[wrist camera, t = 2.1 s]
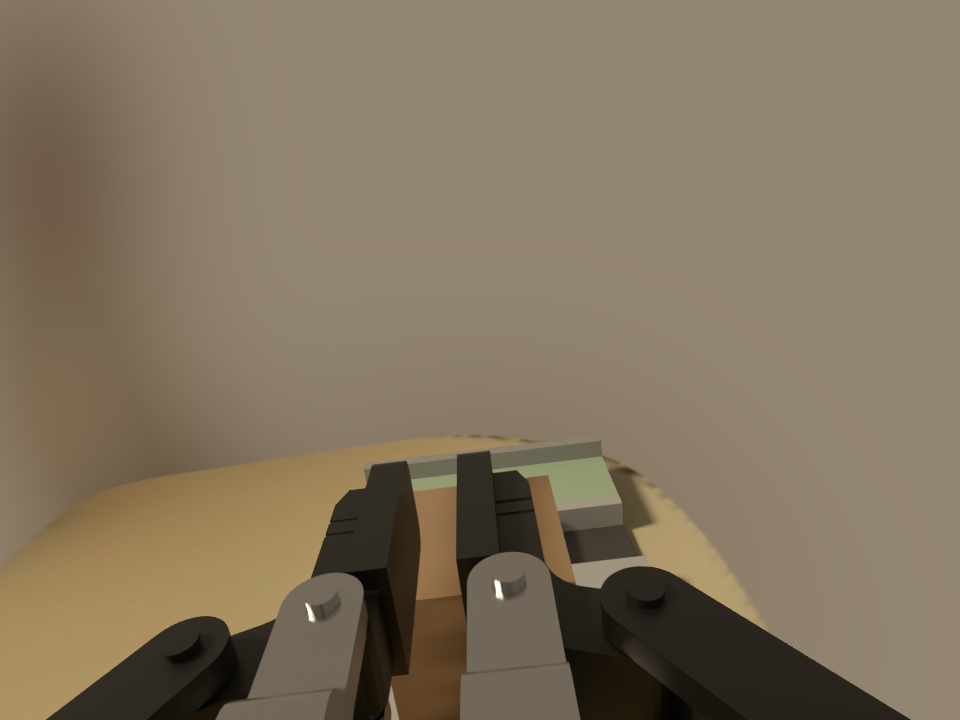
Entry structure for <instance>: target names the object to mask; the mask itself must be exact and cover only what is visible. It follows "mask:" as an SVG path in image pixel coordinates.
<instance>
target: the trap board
mask: <svg viewBox="0 0 960 720" xmlns="http://www.w3.org/2000/svg"><path fill="white" fill-rule="evenodd" d="M489 450H490V455H491V462H492V470H493V473H497V472H505V471H513V470H517V471H518V472H519V473H520V474H521V475H522V476H523V477H524V478H528V477H536V476H545V475H548V477H549V481H550V484H551V488H552V492H553V496H554V500H555V504H556V508H557V511H558V515H559V519H560V523H561V527H562V531H563V535H564V539H565V542H566V546H567V550H568V554H569V558H570V562H571V566H572V569H573V573H574V577H575V581H576V585H579V586H585V587H592V588H600V589H601V587H602V585H603V583H604V581H605V580H606V579H607V578H608V577H609V576H610V575H612V574H613V573H615V572H617V571H619V570H621V569H624V568H629V567H635V566H648V567H650V565H649V563H648V560H647V558H646V556H636V554H635V551H634V549H633V547H632V544H631V542H630V539H629V537H628V535H627V532H626V530H625V528H624V525H623V507H622V501H621V499H620V497H619V494H618V492H617V490H616V488H615V485H614V483H613V481H612V479H611V476H610V474H609V472H608V469H607V467H606V465H605V463H604V460H603V458H602V452H601V440H600V438H599V436H598V435H596V436H589V437H580V438H571V439H563V440H555V441H546V442H538V443H530V444H522V445H513V446H505V447H497V448H489V449H480V450H472V451H464V452H456V453H447V454H439V455H431V456H423V457H414V458H406V459H398V460H390V461H381V462H373V463H366V464H365V468H364V472H365V477H366V481H368V477H369V474H370V470H371V467H372V465H374V464H382V463H390V462H398V461H407V463H408V467H409V471H410V476H411V482H412V487H413V491H420V490H429V489H437V488H445V487H453V486H457V454H464V453H473V452H481V451H489ZM389 703H390V707H391V720H399V717H398V713H397V708H396V704H395V699H394V695H393V691H392V686H391V688H390V695H389Z"/></svg>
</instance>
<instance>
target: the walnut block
mask: <svg viewBox="0 0 960 720" xmlns="http://www.w3.org/2000/svg"><path fill="white" fill-rule="evenodd" d="M525 479H527V480H528V481H529V484H530V489H531V494H532V500H533V504H534V510H535V514H536V519H537V525H538V530H539V535H540V540H541V545H542V550H543V555H544V559H545V562H546V564H547V566H548V568H549V569H550V570H551V571H552V572H553V573H554V574H555V575H556V576H557V577H559V578H561V579H562V580H564V581H567V582H569V583H572V584H575V585H576V581H575V577H574V573H573V569H572V566H571V562H570V558H569V554H568V550H567V546H566V542H565V539H564V535H563V531H562V527H561V523H560V519H559V515H558V511H557V508H556V504H555V500H554V496H553V492H552V488H551V484H550V481H549V477H548V475H545V476H536V477H528V478H525ZM413 493H414V498H415V504H416V509H417V515H418V520H419V527H420V538H421V552H420V563H419V573H418V584H417V594H416V605H415V616H414V626H413V637H412V647H411V658H410V668H409V675H400V676H392V680H391V686H392V691H393V695H394V699H395V704H396V708H397V713H398V717H399V720H460V688H461V675H462V673H464V672H467V625H466V619H465V612H464V606H463V600H462V594H461V588H460V582H459V575H458V569H457V563H456V497H457V486H453V487H445V488H437V489H429V490H420V491H413Z"/></svg>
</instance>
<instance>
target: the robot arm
mask: <svg viewBox="0 0 960 720" xmlns="http://www.w3.org/2000/svg"><path fill="white" fill-rule="evenodd" d="M420 552H421V538H420V527H419V520H418V515H417V509H416V504H415V498H414V493H413V487H412V482H411V476H410V471H409V467H408V463H407V461H398V462H390V463H382V464H374V465H372V467H371V470H370V474H369V477H368V481H367V485H366V488H364V489H356V490H349V492H348V493H347V494H346V495H345V496H344V497H343V498H342V499H341V500H340V501H339V502H338V503H337V504H336V505H335V508H334V511H333V514H332V517H331V520H330V524H329V526H328V529H327V532H326V537H325V538H324V541H323V544H322V547H321V550H320V553H319V556H318V559H317V562H316V565H315V568H314V571H313V574H312V576H311V579H309V580H307V581H305V582H303V583H301V584H300V585H298V586H297V587H296V588H294V589H293V590H292V591H291V592H290V593H289V594H288V595H287V596H286V598H285V599H284V601H283V602H282V605H281V607H280V610H279V612H278V615H277V618H276V619H274V620H272V621H270V622H268V623H265V624H263V625H260V626H257V627H255V628H252V629H249V630H246V631H243V632H241V633H238V634H235V635H232V636H231V635H230V632H229V629H228V627H227V625H226V623H225V622H224V621H222V620H221V619H219V618H216V617H210V616H201V617H195V618H191V619H187V620H184V621H181V622H179V623H177V624H174V625H172V626H170V627H169V628H167V629H165V630H164V631H162V632H161V633H159V634H158V635H156V636H155V637H154V638H152V639H151V640H150V641H149V642H147V643H146V644H145V645H143V646H142V647H141V648H139V649H138V650H137V651H135V652H134V653H133V654H131V655H130V656H129V657H128V658H126V659H125V660H124V661H122V662H121V663H120V664H118V665H117V666H116V667H114V668H113V669H112V670H111V671H109V672H108V673H107V674H105V675H104V676H103V677H101V678H100V679H99V680H97V681H96V682H95V683H93V684H92V685H91V686H90V687H88V688H87V689H86V690H84V691H83V692H82V693H80V694H79V695H78V696H76V697H75V698H74V699H73V700H71V701H70V702H69V703H67V704H66V705H65V706H63V707H62V708H61V709H59V710H58V711H57V712H55V713H54V714H53V715H52V716H50V717H49V718H48V719H46V720H391V707H390V703H389V695H390V688H391V680H392V676H400V675H409V668H410V658H411V647H412V637H413V626H414V616H415V605H416V594H417V584H418V573H419V563H420ZM456 563H457V569H458V575H459V582H460V588H461V594H462V600H463V606H464V612H465V619H466V625H467V672H464V673H462V675H461V688H460V720H910V719H909V718H907V717H905V716H904V715H902V714H900V713H899V712H897V711H896V710H894V709H892V708H891V707H889V706H887V705H886V704H884V703H883V702H881V701H879V700H878V699H876V698H874V697H873V696H871V695H869V694H868V693H866V692H865V691H863V690H861V689H860V688H858V687H856V686H855V685H853V684H851V683H850V682H848V681H847V680H845V679H843V678H842V677H840V676H839V675H837V674H835V673H833V672H832V671H830V670H829V669H827V668H825V667H824V666H822V665H821V664H819V663H817V662H816V661H814V660H812V659H810V658H809V657H808V656H806V655H804V654H803V653H801V652H799V651H798V650H796V649H794V648H793V647H791V646H790V645H788V644H786V643H785V642H783V641H781V640H780V639H778V638H777V637H775V636H773V635H772V634H770V633H768V632H767V631H765V630H764V629H762V628H760V627H759V626H757V625H755V624H754V623H752V622H751V621H749V620H747V619H746V618H744V617H742V616H741V615H739V614H737V613H736V612H734V611H733V610H731V609H729V608H728V607H726V606H724V605H723V604H721V603H720V602H718V601H716V600H715V599H713V598H711V597H710V596H708V595H706V594H705V593H703V592H702V591H700V590H698V589H697V588H695V587H693V586H692V585H690V584H689V583H687V582H685V581H684V580H682V579H680V578H679V577H677V576H676V575H674V574H672V573H670V572H668V571H665V570H662V569H659V568H655V567H648V566H635V567H629V568H624V569H621V570H619V571H617V572H615V573H613V574H612V575H610V576H609V577H608V578H607V579H606V580H605V581H604V583H603V585H602V587H601V589H600V588H592V587H585V586H579V585H575V584H572V583H569V582H567V581H564V580H562V579H561V578H559V577H557V576H556V575H555V574H554V573H553V572H552V571H551V570H550V569H549V568H548V566H547V564H546V562H545V559H544V555H543V550H542V545H541V540H540V535H539V530H538V525H537V519H536V514H535V510H534V504H533V500H532V494H531V489H530V484H529V481H528V480H527V479H525V478H524V477H523V476H522V475H521V474H520V473H519V472H518V471H517V470H513V471H505V472H497V473H493V470H492V462H491V455H490V450H489V451H481V452H473V453H464V454H457V497H456Z"/></svg>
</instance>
